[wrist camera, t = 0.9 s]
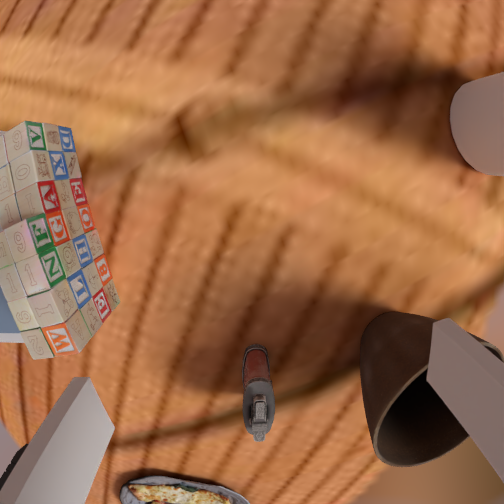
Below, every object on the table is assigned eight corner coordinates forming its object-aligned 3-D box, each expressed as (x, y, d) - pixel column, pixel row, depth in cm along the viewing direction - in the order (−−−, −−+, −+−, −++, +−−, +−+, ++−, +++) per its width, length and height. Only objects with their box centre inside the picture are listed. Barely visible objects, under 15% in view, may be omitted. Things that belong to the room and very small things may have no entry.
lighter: (268, 395, 39) (275, 450, 30) (242, 396, 39) (243, 451, 30) (270, 343, 38) (279, 396, 28) (241, 344, 37) (242, 397, 28)
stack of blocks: (32, 147, 31) (-36, 145, 19) (72, 127, 31) (7, 114, 19) (81, 311, 36) (32, 361, 24) (122, 302, 36) (79, 355, 24)
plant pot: (306, 344, 38) (340, 438, 22) (395, 256, 35) (478, 309, 20) (373, 399, 41) (416, 479, 25) (449, 326, 38) (518, 387, 23)
